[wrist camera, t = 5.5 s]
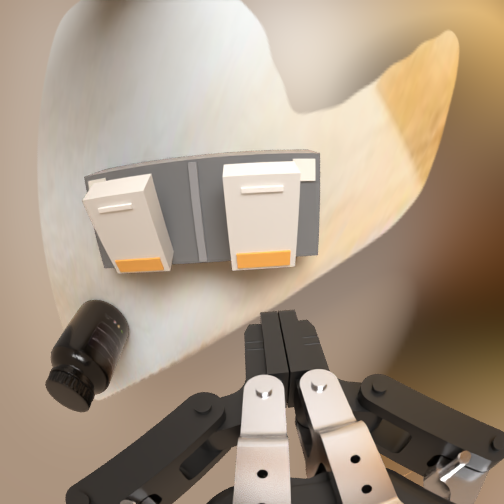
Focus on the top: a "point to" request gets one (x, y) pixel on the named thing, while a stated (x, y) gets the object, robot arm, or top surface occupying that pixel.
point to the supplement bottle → (87, 355)
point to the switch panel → (215, 200)
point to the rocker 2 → (262, 213)
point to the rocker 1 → (130, 224)
